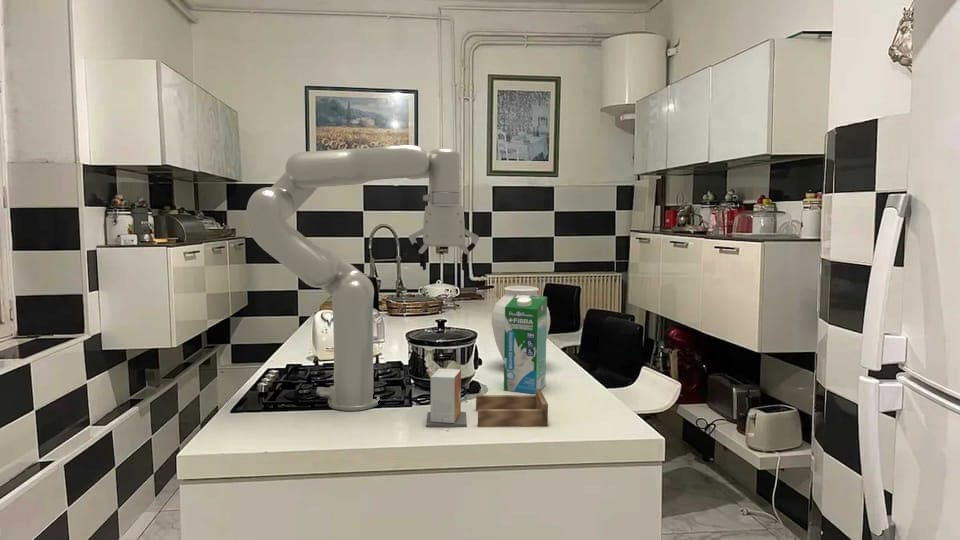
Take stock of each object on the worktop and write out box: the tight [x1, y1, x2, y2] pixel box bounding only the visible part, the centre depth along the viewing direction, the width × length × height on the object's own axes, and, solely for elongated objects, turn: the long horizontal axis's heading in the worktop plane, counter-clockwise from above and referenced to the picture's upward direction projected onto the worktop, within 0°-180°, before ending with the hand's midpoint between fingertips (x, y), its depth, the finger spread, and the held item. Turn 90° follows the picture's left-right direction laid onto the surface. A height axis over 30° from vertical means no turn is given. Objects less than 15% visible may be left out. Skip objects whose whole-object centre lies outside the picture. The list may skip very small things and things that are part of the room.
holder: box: [475, 389, 549, 427], centre depth 150 cm, size 16×12×5 cm
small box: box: [430, 368, 462, 423], centre depth 147 cm, size 8×6×10 cm
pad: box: [425, 411, 468, 428], centre depth 147 cm, size 9×9×1 cm
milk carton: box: [503, 295, 548, 395], centre depth 174 cm, size 9×9×25 cm
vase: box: [491, 285, 551, 361], centre depth 196 cm, size 18×18×25 cm
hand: (443, 269), depth 159 cm, fingers open, 9 cm apart
